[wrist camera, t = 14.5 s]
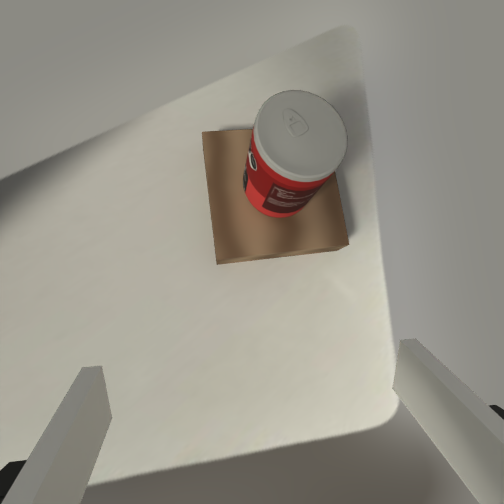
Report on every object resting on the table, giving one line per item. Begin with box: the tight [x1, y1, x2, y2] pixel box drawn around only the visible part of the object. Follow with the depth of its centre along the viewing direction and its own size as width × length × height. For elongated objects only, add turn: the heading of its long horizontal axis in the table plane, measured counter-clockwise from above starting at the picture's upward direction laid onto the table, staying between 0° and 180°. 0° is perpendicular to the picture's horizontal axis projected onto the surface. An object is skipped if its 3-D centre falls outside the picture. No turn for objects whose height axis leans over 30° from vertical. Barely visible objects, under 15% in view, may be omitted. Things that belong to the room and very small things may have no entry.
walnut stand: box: [202, 129, 349, 265], centre depth 37 cm, size 15×15×4 cm
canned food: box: [243, 90, 348, 218], centre depth 30 cm, size 8×8×11 cm
